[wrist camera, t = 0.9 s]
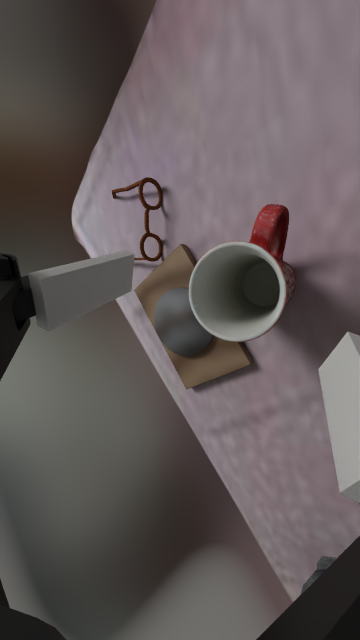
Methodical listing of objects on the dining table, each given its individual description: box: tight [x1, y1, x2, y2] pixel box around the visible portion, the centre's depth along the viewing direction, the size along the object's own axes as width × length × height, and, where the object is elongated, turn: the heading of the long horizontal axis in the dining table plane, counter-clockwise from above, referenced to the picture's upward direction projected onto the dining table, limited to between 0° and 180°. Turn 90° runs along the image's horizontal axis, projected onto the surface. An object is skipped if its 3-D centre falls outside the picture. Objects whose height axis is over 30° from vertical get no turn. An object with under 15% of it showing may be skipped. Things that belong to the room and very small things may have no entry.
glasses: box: [112, 178, 162, 261], centre depth 40 cm, size 13×13×5 cm
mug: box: [189, 204, 295, 342], centre depth 24 cm, size 13×9×14 cm
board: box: [134, 244, 253, 389], centre depth 37 cm, size 22×14×2 cm, turn 34°
